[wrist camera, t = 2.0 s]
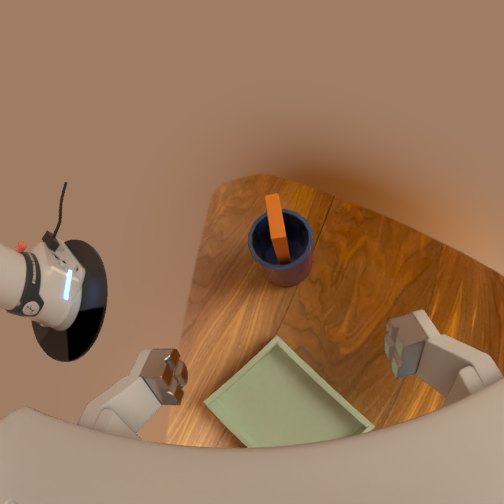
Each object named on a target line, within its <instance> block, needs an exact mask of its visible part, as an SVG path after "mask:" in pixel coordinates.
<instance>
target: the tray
mask: <svg viewBox="0 0 504 504" xmlns="http://www.w3.org/2000/svg"><path fill="white" fill-rule="evenodd" d="M203 402H204V404H205V405H206V406H207V407H208V408H209V409H210V410H211V411H212V412H213V413H214V415H215V416H216V417H217V418H218V419H219V420H220V421H221V422H222V423H223V424H224V425H225V426H226V427H227V428H228V429H229V430H230V431H231V432H232V433H233V434H234V435H235V436H236V437H237V438H238V439H239V440H240V441H241V442H242V443H243V444H244V445H245V446H246V447H247V448H257V447H275V446H287V445H296V444H305V443H313V442H319V441H326V440H332V439H337V438H342V437H347V436H352V435H357V434H361V433H365V432H370V431H371V430H372V429H373V428H374V427H375V426H374V425H373V424H372V423H371V422H370V421H369V420H368V419H367V418H365V417H364V416H363V415H362V414H361V413H360V412H359V411H358V410H356V409H355V408H354V407H353V406H352V405H351V404H350V403H349V402H348V401H346V400H345V399H344V398H343V397H342V396H341V395H340V394H339V393H338V392H337V391H335V390H334V389H333V388H332V387H331V386H330V385H329V384H328V383H327V382H326V381H325V380H324V379H323V378H321V377H320V376H319V375H318V374H317V373H316V372H315V371H314V370H313V369H312V368H311V367H310V366H309V365H308V364H307V363H306V362H305V361H304V360H302V359H301V358H300V357H299V356H298V355H297V354H296V353H295V352H294V351H293V350H292V349H291V348H290V347H289V346H288V345H287V344H286V343H285V342H284V341H283V340H282V339H281V338H280V337H279V336H277V335H276V336H275V337H274V338H273V339H272V340H271V341H270V342H269V343H268V344H267V345H266V346H265V347H264V348H263V349H262V350H261V351H260V352H258V353H257V354H256V355H255V356H254V357H253V358H252V359H251V360H250V361H249V362H248V363H247V364H245V365H244V366H243V367H242V368H241V369H240V370H239V371H238V372H237V373H236V374H234V375H233V376H232V377H231V378H230V379H229V380H228V381H227V382H225V383H224V384H223V385H222V386H221V387H220V388H218V389H217V390H216V391H215V392H214V393H213V394H211V395H210V396H209V397H208V398H207V399H206V400H204V401H203Z"/></svg>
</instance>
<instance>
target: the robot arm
mask: <svg viewBox="0 0 504 504" xmlns="http://www.w3.org/2000/svg"><path fill="white" fill-rule="evenodd" d="M66 185H67V182H65V184H64V187H63V191H62V195H61V199H60V207H59V221H58V224H57V227H56V229H55V231H54V234H52V233H50V232H49V231H47V232H46V233H45V235H44V236H43V238H42V240H43V242H41V243H39V244H37V245H36V246H35V247H34V248H33V249H32V250H31V251H30V252H23V251H24V250H25V248H26V244H25V243H24V242H22V241H20V242H19V243H18V246H16V251H15V250H13V249H11V248H9V247H7V246H5V245H3V244H1V243H0V308H3V309H5V310H6V311H7V312H9V313H11V314H14V315H18V316H22V317H25V318H28V319H30V320H32V321H35V322H38V323H40V325H41V326H43V327H51V328H52V329H54V330H56V331H63V330H66V329H67V328H69V327H70V326H71V325H72V323H73V322H74V320H75V319H76V317H77V314H78V312H79V308H80V304H81V297H82V283H83V280H84V277H85V269H84V268H83V266H82V265H81V264H80V263H79V261H78V260H77V259H76V257H75V256H74V255H73V254H72V252H71V251H70V250H69V248H68V247H67V246H66V244H65V243H64V242H63V241H62V239H56V238H55V236H56V234H57V231H58V229H59V227H60V224H61V218H62V217H61V216H62V202H63V197H64V193H65V189H66ZM385 327H386V329H387V331H388V332H387V333H386V334H385V336H384V349H385V353H386V356H387V358H388V359H389V360H391V361H392V364H391V368H392V370H393V373H394V375H395V378H396V379H399V378H403V377H407V376H410V375H414V374H416V375H417V376H418V377H419V378H421V379H422V380H423V381H425V382H426V383H427V384H429V385H430V386H431V387H433V388H434V389H435V390H437V391H438V392H439V393H441V394H442V395H443V396H445V397H446V400H445V402H444V404H443V405H442V407H441V408H440V409H438V410H435V411H433V412H430V413H427V414H425V415H422V416H419V417H416V418H414V419H411V420H408V421H405V422H401V423H398V424H395V425H392V426H388V427H385V428H381V429H377V430H373V431H370V432H365V433H361V434H357V435H352V436H347V437H342V438H337V439H332V440H326V441H319V442H313V443H305V444H296V445H287V446H275V447H257V448H212V447H194V446H182V445H173V444H164V443H157V442H150V441H144V440H142V439H141V438H140V437H139V436H138V435H137V434H136V433H137V432H138V431H139V430H140V428H141V427H142V426H143V425H144V424H145V423H146V422H147V421H148V420H149V419H150V418H151V417H152V416H153V415H154V414H155V413H156V412H157V411H158V410H159V409H160V407H161V406H162V405H180V404H181V401H182V397H183V394H184V392H183V390H182V388H183V387H184V386H185V385H186V384H187V380H188V371H187V367H186V365H185V363H184V362H182V361H181V360H179V358H180V354H179V352H178V351H177V349H143V350H141V352H140V354H139V356H138V358H137V359H136V361H135V363H134V365H133V367H132V369H131V371H130V373H129V375H128V376H125V377H123V378H122V379H121V380H119V381H118V382H117V383H115V384H114V385H112V386H111V387H110V388H108V389H107V390H106V391H104V392H103V393H101V394H100V395H99V396H97V397H96V398H95V399H93V400H92V401H90V402H89V403H88V404H87V405H86V407H85V409H84V411H83V413H82V415H81V417H80V419H79V421H78V423H77V425H76V424H73V423H70V422H67V421H64V420H61V419H58V418H56V417H53V416H50V415H47V414H45V413H42V412H40V411H37V410H35V409H32V408H30V407H27V406H23V407H20V408H18V409H16V410H14V411H12V412H11V413H9V414H8V415H6V416H5V417H3V418H1V419H0V504H504V377H503V375H502V374H501V372H500V371H499V369H498V368H497V366H496V364H495V363H494V361H493V360H492V358H491V357H490V355H488V354H486V353H483V352H481V351H479V350H477V349H475V348H473V347H471V346H468V345H466V344H464V343H462V342H460V341H458V340H455V339H453V338H451V337H449V336H447V335H445V334H443V335H440V333H439V332H438V330H437V329H436V327H435V326H434V324H433V323H432V321H431V320H430V319H429V317H428V316H427V314H426V313H425V311H424V310H422V309H421V310H417V311H414V312H411V313H408V314H404V315H400V316H396V317H392V318H388V319H387V321H386V326H385Z"/></svg>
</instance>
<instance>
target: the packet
mask: <svg viewBox="0 0 504 504" xmlns="http://www.w3.org/2000/svg"><path fill="white" fill-rule="evenodd" d="M265 202H266V209H267V215H268V222H269V229H270V235H271V240H272V244H273V247H274V250H275V253H276V256H277V259H278V263H279V265H287V264H289V263H291V261H290V255H289V248H288V243H287V237H286V231H285V226H284V221H283V215H282V210H281V205H280V199H279V194H278V193H276V194H271V195H265Z"/></svg>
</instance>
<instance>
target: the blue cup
mask: <svg viewBox="0 0 504 504" xmlns="http://www.w3.org/2000/svg"><path fill="white" fill-rule="evenodd" d="M281 210H282V215H283V221H284V226H285V231H286V237H287V243H288V248H289V255H290V261H291V263H289V264H287V265H279V263H278V259H277V256H276V253H275V250H274V247H273V244H272V240H271V235H270V229H269V222H268V215H267V213H265V214H263V215H261V216H260V217H259V218H258V219H257V220H256V221H255V222H254V223H253V225H252V227H251V229H250V232H249V234H248V246H249V249H250V251H251V254H252V256H253V258H254V260H255V261H256V263H257V265H258V267H259V269H260V270H261V272H262V274H263V276H264V277H265V278H266V279H267V280H268V281H269V282H271V283H272V284H274V285H276V286H280V287H291V286H294V285H297V284H299V283H300V282H302V281H303V280H304V279H305V278H306V277H307V275H308V274H309V271H310V269H311V265H312V253H313V232H312V229H311V227H310V225H309V223H308V221H307V220H306V219H305V218H304V217H302V216H301V215H300V214H299V213H297V212H294V211H291V210H287V209H281Z"/></svg>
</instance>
